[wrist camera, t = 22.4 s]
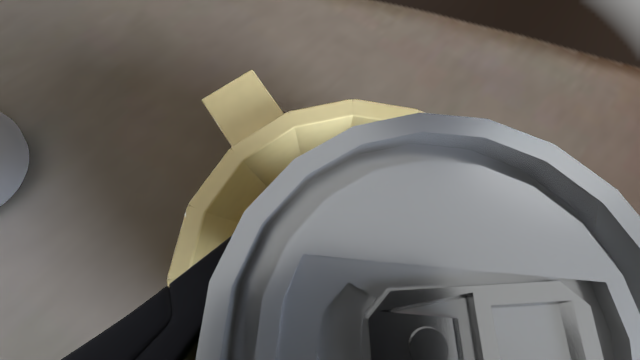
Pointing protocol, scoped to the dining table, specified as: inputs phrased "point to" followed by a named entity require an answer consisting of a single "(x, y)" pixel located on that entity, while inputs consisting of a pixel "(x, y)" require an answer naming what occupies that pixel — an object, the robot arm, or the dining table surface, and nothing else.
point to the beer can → (429, 253)
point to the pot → (258, 157)
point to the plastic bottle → (11, 158)
